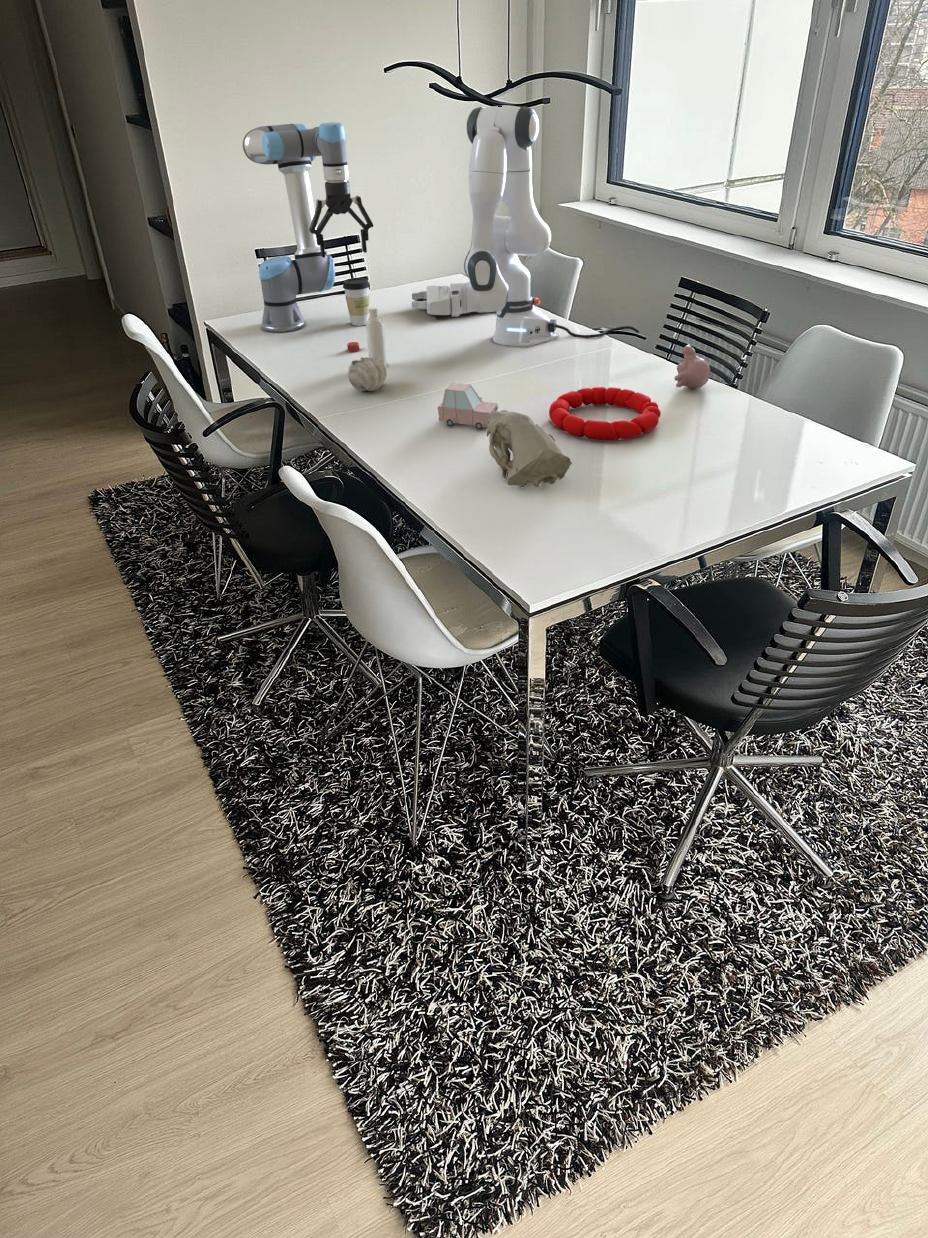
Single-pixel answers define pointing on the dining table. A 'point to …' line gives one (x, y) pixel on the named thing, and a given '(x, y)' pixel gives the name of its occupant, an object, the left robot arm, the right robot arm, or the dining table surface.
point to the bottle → (376, 336)
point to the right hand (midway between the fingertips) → (411, 300)
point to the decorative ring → (604, 428)
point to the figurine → (692, 370)
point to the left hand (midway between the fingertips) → (344, 254)
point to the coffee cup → (357, 299)
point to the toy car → (465, 406)
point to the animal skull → (525, 450)
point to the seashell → (367, 374)
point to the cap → (353, 346)
